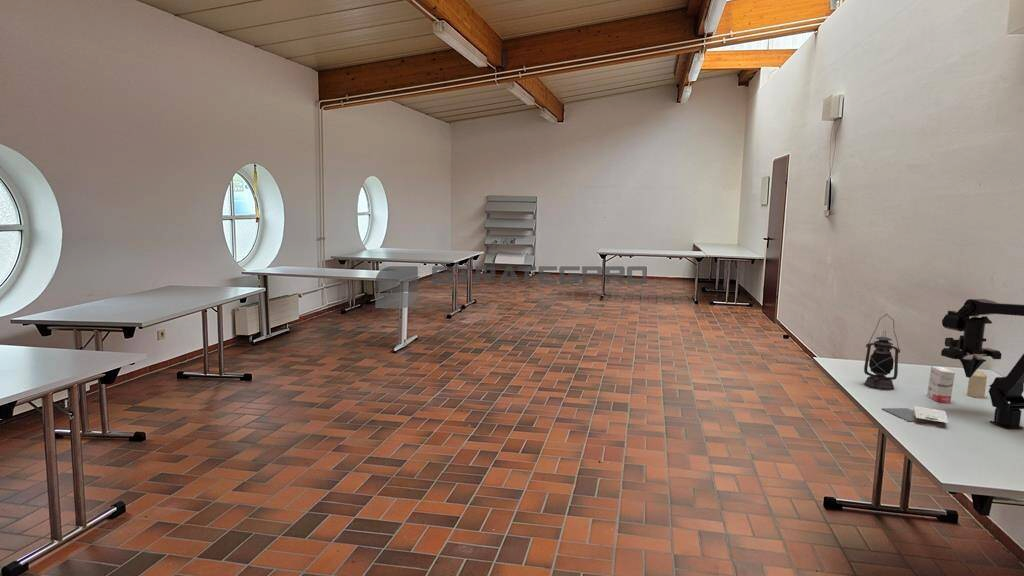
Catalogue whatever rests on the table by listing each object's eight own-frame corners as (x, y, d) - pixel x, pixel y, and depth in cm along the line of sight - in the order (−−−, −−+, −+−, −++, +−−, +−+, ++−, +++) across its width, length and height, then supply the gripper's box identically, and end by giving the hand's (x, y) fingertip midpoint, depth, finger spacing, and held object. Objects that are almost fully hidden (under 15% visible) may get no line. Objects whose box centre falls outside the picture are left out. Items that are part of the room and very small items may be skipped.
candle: (968, 396, 241) (971, 371, 240) (965, 393, 246) (968, 368, 245) (985, 399, 239) (988, 373, 237) (982, 395, 244) (985, 370, 242)
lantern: (857, 385, 253) (864, 312, 249) (867, 381, 260) (874, 310, 256) (891, 392, 244) (899, 317, 240) (900, 388, 251) (908, 314, 247)
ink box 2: (944, 417, 213) (947, 431, 203) (912, 412, 217) (914, 425, 208) (946, 409, 212) (949, 422, 202) (913, 404, 217) (915, 417, 207)
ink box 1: (951, 403, 232) (955, 372, 230) (936, 402, 233) (940, 371, 231) (940, 396, 240) (944, 366, 239) (926, 395, 241) (929, 365, 240)
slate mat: (935, 421, 210) (935, 420, 210) (908, 421, 209) (908, 420, 209) (907, 409, 223) (907, 408, 223) (881, 409, 222) (881, 408, 222)
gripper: (978, 330, 228) (973, 371, 230) (931, 329, 226) (926, 371, 228) (1005, 336, 217) (999, 379, 219) (956, 335, 215) (951, 379, 217)
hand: (968, 377), depth 221 cm, fingers closed
